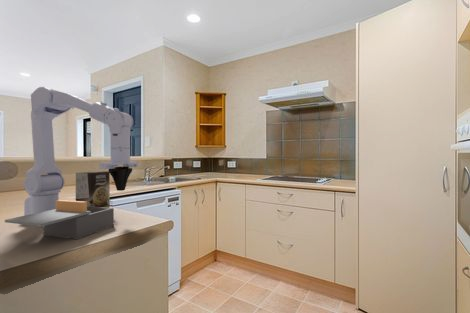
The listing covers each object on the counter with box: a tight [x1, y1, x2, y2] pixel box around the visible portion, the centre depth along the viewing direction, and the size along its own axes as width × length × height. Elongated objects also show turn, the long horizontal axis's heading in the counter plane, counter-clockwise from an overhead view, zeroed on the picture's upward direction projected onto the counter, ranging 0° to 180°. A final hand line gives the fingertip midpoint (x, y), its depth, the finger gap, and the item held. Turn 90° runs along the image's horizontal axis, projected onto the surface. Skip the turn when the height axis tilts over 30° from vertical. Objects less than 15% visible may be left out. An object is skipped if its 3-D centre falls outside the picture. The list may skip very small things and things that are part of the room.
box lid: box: [4, 199, 91, 228], centre depth 59 cm, size 12×12×3 cm
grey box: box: [43, 206, 115, 240], centre depth 67 cm, size 12×12×6 cm
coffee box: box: [75, 170, 111, 208], centre depth 82 cm, size 9×6×16 cm
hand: (120, 190), depth 75 cm, fingers closed
